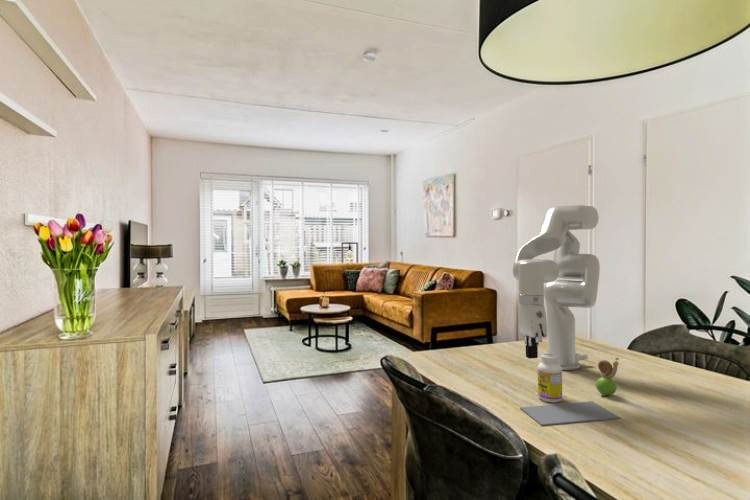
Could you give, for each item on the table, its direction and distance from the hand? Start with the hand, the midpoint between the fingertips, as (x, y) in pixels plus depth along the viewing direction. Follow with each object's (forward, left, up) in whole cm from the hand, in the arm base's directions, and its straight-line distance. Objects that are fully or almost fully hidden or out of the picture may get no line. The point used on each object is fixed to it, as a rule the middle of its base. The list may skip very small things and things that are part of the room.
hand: (531, 357), depth 133 cm
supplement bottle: (0, +10, -10) cm, 14 cm away
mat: (+1, +20, -10) cm, 23 cm away
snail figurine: (-18, +11, -10) cm, 23 cm away
